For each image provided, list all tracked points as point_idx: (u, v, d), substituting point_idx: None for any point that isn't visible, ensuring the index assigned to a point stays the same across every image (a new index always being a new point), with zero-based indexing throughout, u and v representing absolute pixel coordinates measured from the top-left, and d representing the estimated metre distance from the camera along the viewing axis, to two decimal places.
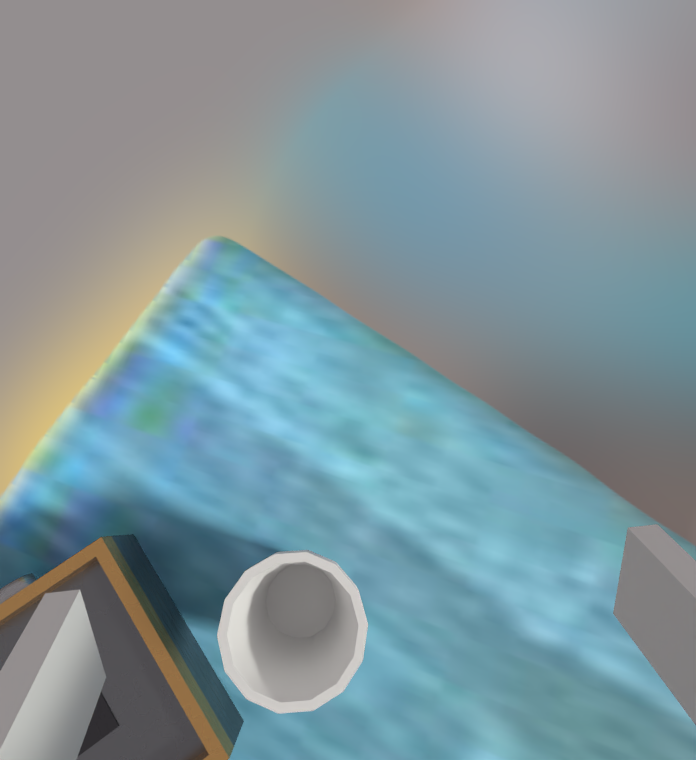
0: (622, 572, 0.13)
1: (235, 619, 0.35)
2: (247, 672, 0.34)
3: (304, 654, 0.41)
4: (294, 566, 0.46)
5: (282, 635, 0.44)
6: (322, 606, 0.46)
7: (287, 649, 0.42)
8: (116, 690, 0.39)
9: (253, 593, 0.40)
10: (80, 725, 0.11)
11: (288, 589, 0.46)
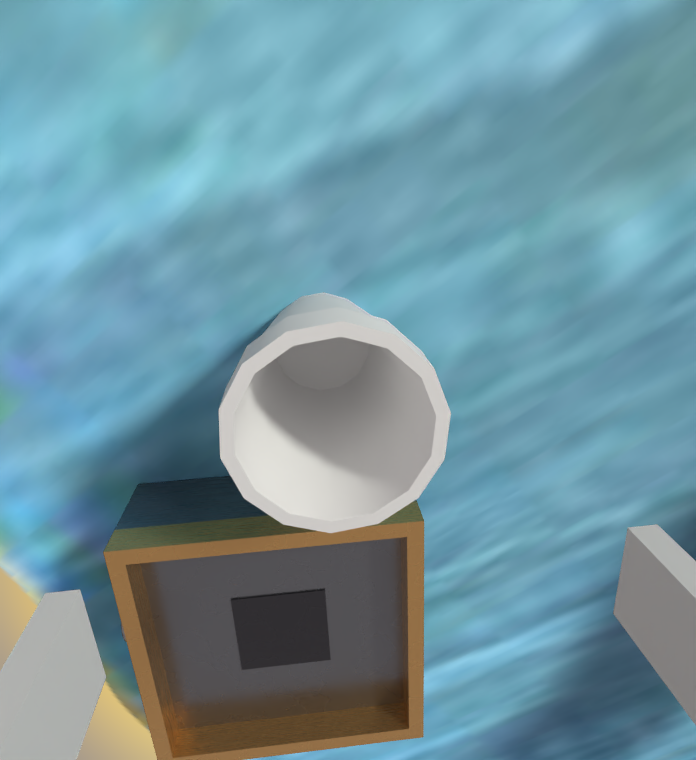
0: (621, 572, 0.13)
1: (281, 482, 0.24)
2: (350, 500, 0.24)
3: (380, 388, 0.30)
4: None
5: (346, 387, 0.33)
6: None
7: (362, 399, 0.31)
8: (289, 580, 0.34)
9: (271, 421, 0.28)
10: (80, 725, 0.11)
11: (300, 352, 0.33)
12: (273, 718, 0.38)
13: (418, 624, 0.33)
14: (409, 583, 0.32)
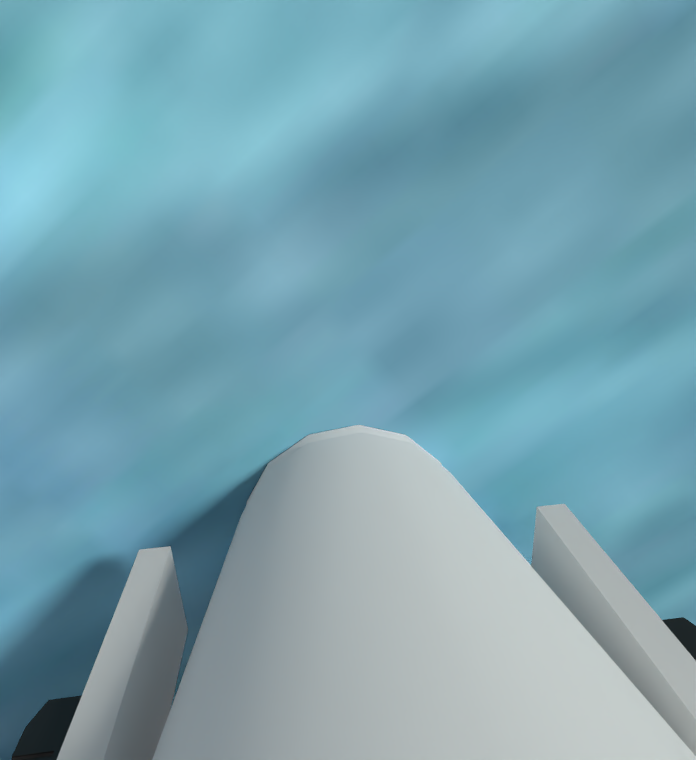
0: (534, 549, 0.14)
1: None
2: None
3: None
4: None
5: None
6: None
7: None
8: None
9: None
10: (174, 667, 0.13)
11: None
12: None
13: None
14: None
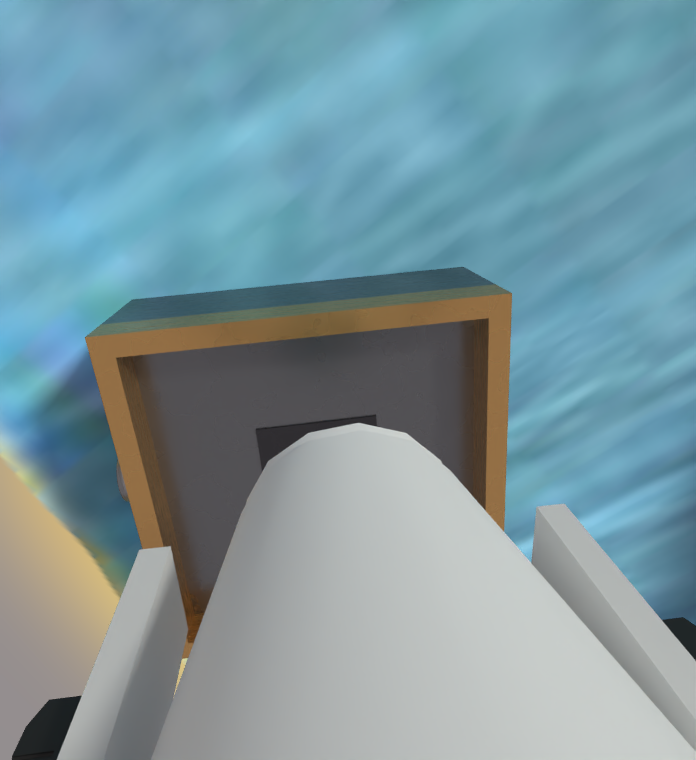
0: (534, 549, 0.14)
1: None
2: None
3: None
4: None
5: None
6: None
7: None
8: (331, 402, 0.26)
9: None
10: (174, 667, 0.13)
11: None
12: None
13: (499, 451, 0.26)
14: (490, 389, 0.25)
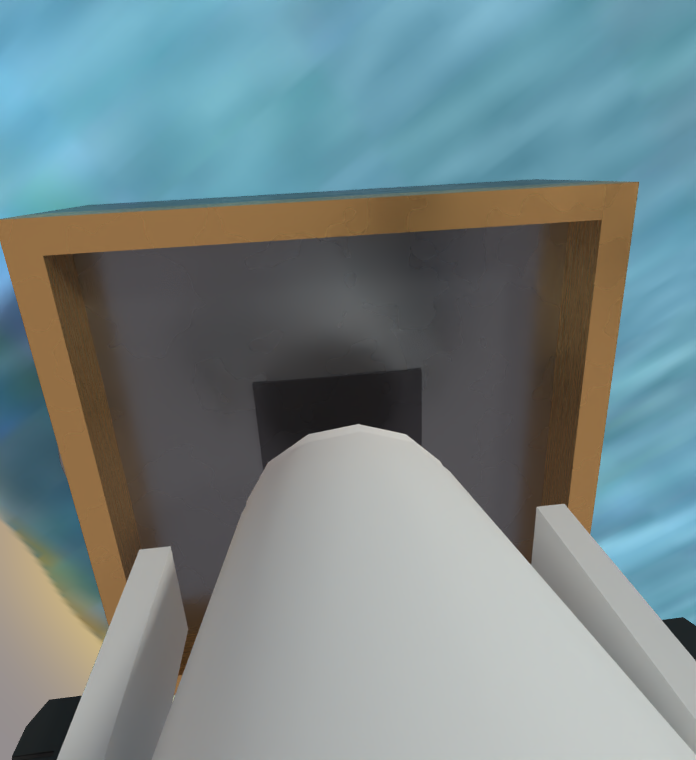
0: (534, 549, 0.14)
1: None
2: None
3: None
4: None
5: None
6: None
7: None
8: (360, 347, 0.19)
9: None
10: (174, 667, 0.13)
11: None
12: None
13: (596, 422, 0.18)
14: (592, 330, 0.17)
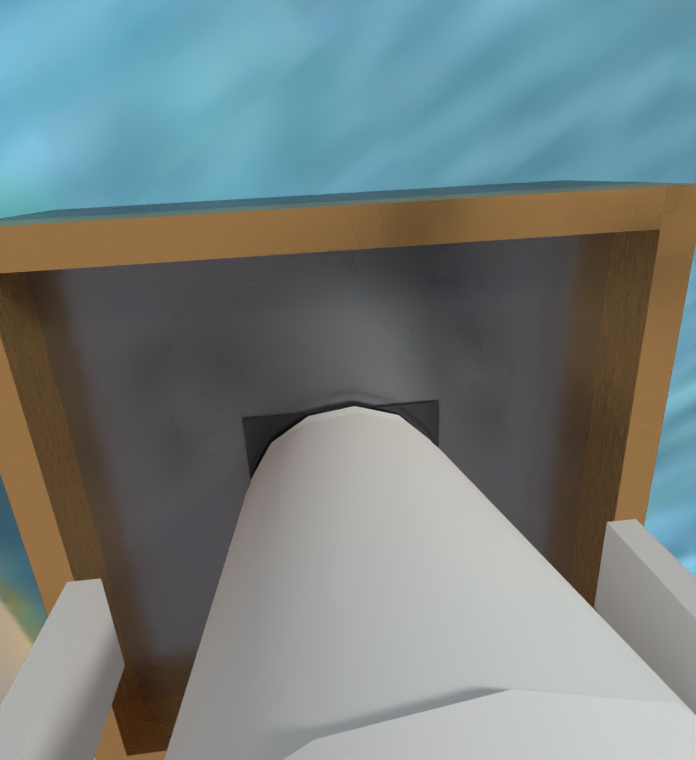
0: (602, 566, 0.14)
1: None
2: None
3: None
4: None
5: None
6: None
7: None
8: (368, 376, 0.16)
9: None
10: (101, 710, 0.12)
11: None
12: None
13: (644, 464, 0.16)
14: (644, 359, 0.14)
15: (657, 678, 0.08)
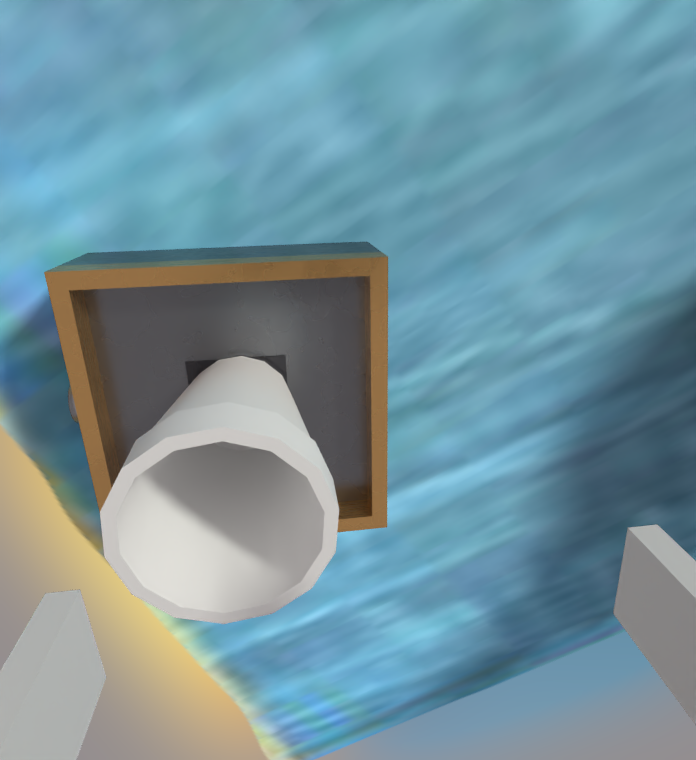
0: (622, 573, 0.13)
1: (176, 570, 0.24)
2: (247, 587, 0.24)
3: None
4: None
5: (266, 449, 0.33)
6: None
7: (277, 466, 0.31)
8: (248, 341, 0.32)
9: (177, 497, 0.27)
10: (80, 725, 0.11)
11: None
12: None
13: (382, 386, 0.32)
14: (372, 334, 0.31)
15: (302, 428, 0.24)
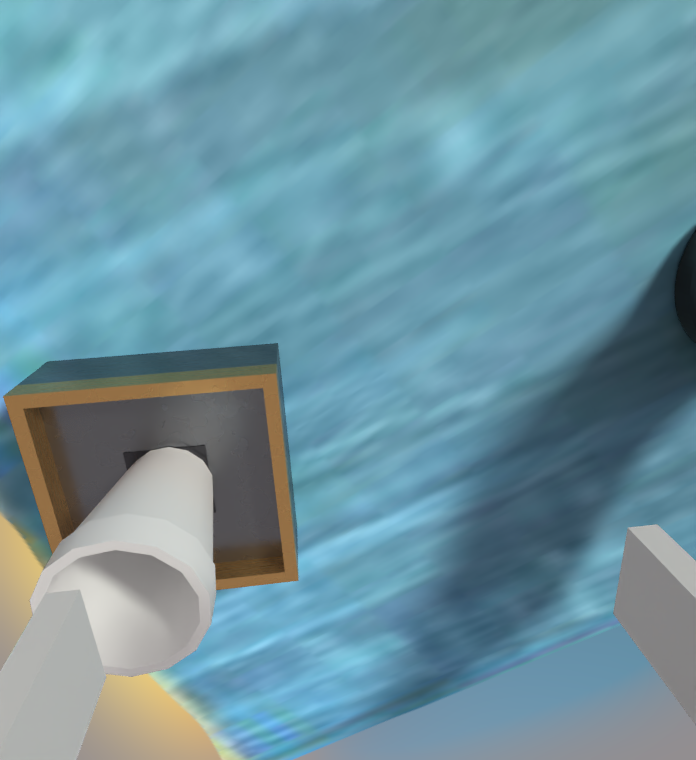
0: (622, 572, 0.13)
1: (97, 635, 0.31)
2: (151, 647, 0.32)
3: None
4: None
5: None
6: None
7: None
8: (173, 435, 0.40)
9: (107, 571, 0.35)
10: (80, 725, 0.11)
11: None
12: None
13: (282, 471, 0.40)
14: (270, 432, 0.38)
15: (192, 525, 0.32)
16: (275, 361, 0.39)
